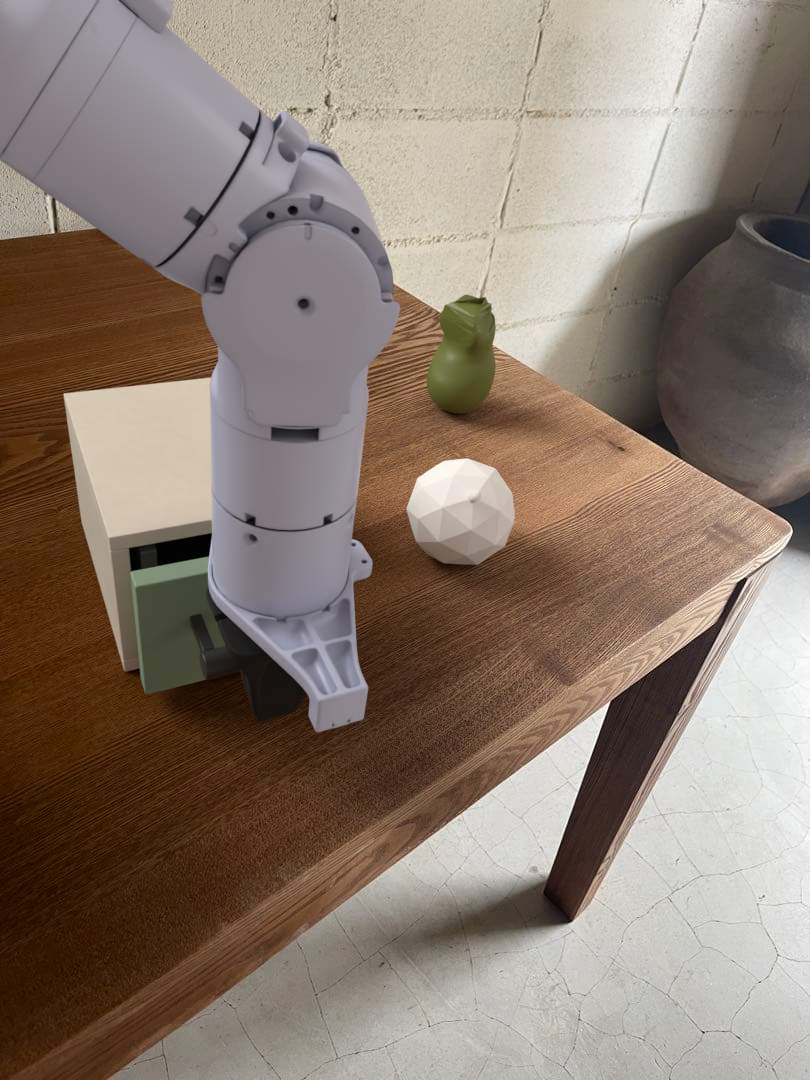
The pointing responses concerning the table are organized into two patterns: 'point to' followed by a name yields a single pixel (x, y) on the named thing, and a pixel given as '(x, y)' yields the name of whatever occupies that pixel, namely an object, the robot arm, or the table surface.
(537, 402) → the table surface
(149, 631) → the drawer
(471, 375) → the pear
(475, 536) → the ornament
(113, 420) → the storage box
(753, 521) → the table surface
